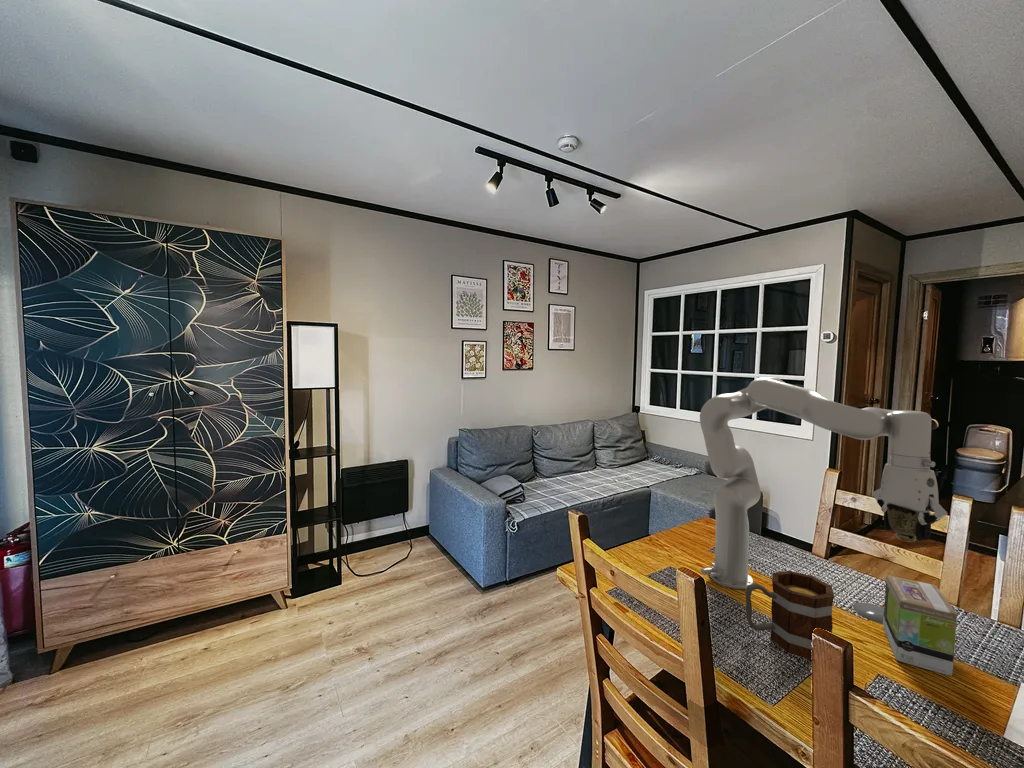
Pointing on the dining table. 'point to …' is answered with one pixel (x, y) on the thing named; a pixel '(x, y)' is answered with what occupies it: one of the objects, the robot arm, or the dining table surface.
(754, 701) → the dining table surface
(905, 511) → the cup
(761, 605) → the dining table surface
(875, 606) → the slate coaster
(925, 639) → the tea box
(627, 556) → the dining table surface
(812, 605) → the mug
